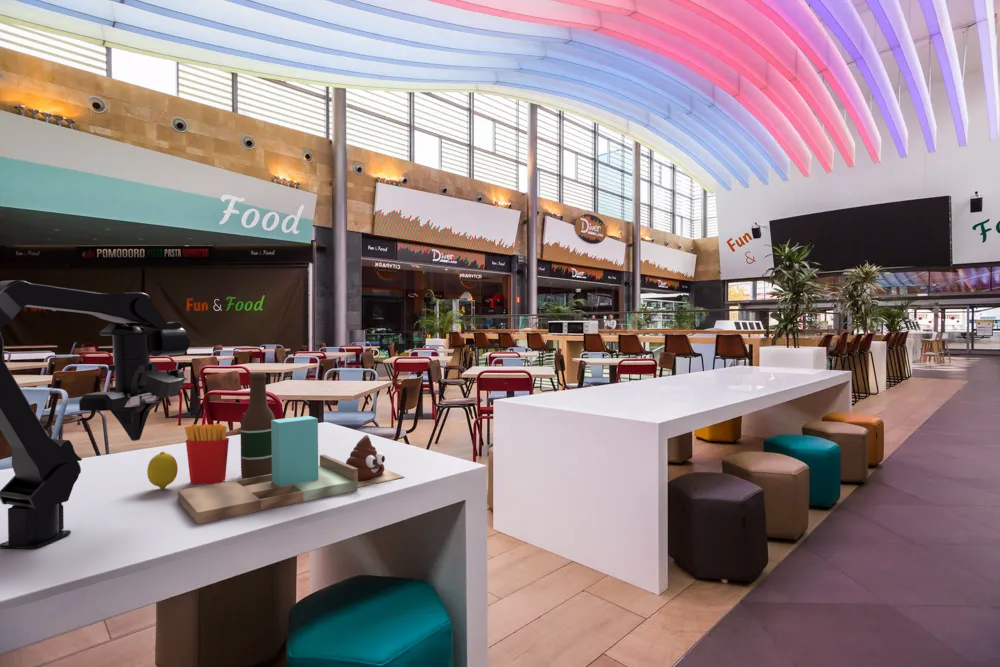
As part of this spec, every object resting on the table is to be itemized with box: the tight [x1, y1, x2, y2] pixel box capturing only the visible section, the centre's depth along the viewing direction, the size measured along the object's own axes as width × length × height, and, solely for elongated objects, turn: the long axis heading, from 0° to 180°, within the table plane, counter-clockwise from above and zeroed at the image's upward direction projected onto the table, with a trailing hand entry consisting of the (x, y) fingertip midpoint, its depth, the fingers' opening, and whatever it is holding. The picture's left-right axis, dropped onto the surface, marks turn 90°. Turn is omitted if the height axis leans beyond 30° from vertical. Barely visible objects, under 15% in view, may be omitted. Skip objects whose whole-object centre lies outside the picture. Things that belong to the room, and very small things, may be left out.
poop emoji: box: [345, 434, 386, 481], centre depth 123 cm, size 10×8×9 cm
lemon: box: [146, 451, 179, 490], centre depth 116 cm, size 6×6×8 cm
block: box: [271, 415, 319, 487], centre depth 114 cm, size 8×5×13 cm, turn 130°
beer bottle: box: [239, 372, 276, 479], centre depth 126 cm, size 8×8×24 cm
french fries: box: [184, 423, 230, 485], centre depth 121 cm, size 9×4×13 cm, turn 90°
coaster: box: [358, 468, 405, 488], centre depth 123 cm, size 13×13×1 cm
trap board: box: [177, 454, 359, 525], centre depth 110 cm, size 30×18×4 cm, turn 130°
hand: (135, 440), depth 102 cm, fingers closed
